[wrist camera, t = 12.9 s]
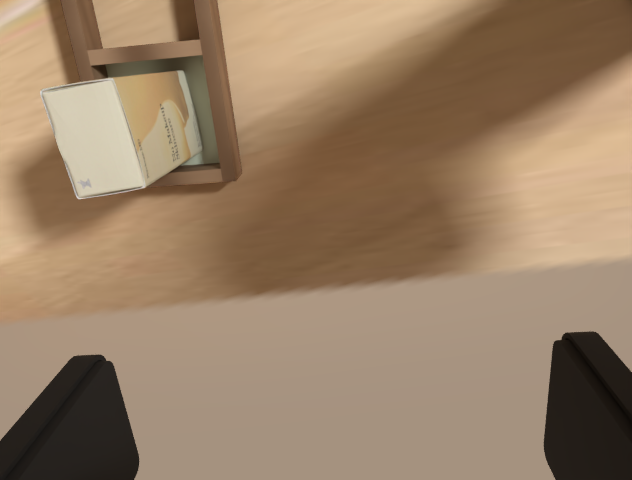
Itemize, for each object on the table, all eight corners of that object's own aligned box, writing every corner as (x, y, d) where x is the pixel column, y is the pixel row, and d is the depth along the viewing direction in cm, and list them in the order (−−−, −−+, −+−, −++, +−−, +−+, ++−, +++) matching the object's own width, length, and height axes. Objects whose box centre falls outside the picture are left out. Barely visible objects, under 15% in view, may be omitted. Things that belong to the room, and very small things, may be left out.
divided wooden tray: (201, -109, 33) (190, -120, 31) (242, 172, 40) (235, 181, 38) (56, -91, 34) (35, -101, 32) (120, 182, 41) (107, 190, 39)
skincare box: (205, 150, 40) (150, 194, 28) (153, 159, 40) (77, 206, 29) (183, 64, 37) (113, 75, 26) (128, 75, 38) (35, 90, 26)
